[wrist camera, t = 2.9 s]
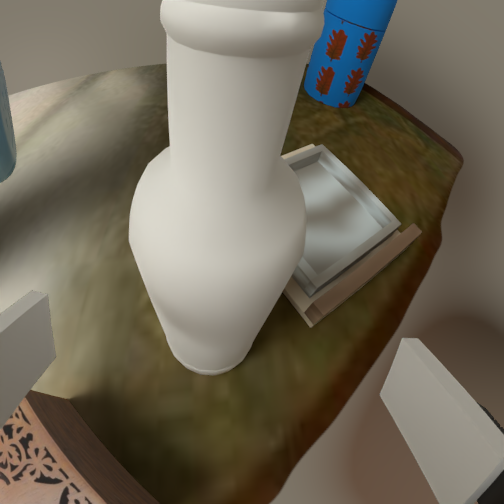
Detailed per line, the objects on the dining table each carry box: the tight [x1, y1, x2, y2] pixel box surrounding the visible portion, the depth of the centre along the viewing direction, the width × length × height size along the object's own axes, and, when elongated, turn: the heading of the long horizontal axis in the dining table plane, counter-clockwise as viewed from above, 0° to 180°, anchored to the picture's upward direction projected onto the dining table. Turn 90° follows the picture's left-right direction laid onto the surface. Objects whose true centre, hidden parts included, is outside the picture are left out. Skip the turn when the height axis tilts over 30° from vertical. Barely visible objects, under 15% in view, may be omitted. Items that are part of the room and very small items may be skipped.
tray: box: [281, 144, 422, 328], centre depth 38 cm, size 20×18×4 cm
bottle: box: [129, 0, 324, 375], centre depth 18 cm, size 8×8×30 cm
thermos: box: [304, 0, 397, 108], centre depth 45 cm, size 11×11×25 cm
